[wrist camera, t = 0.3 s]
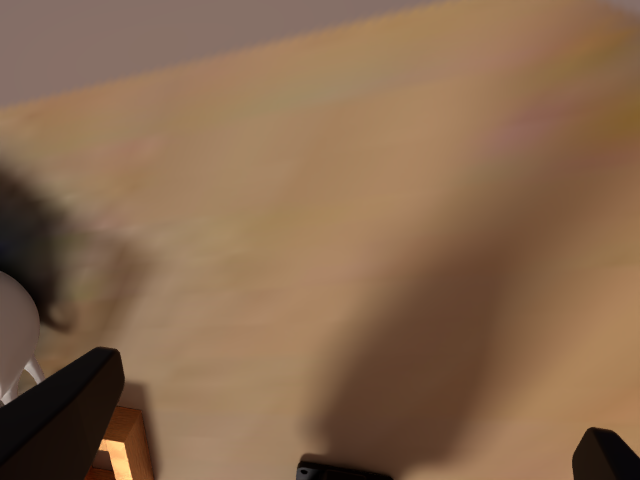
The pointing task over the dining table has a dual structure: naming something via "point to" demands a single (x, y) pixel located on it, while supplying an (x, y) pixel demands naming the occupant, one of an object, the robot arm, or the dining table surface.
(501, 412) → the dining table surface
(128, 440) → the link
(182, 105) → the dining table surface
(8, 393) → the teacup
